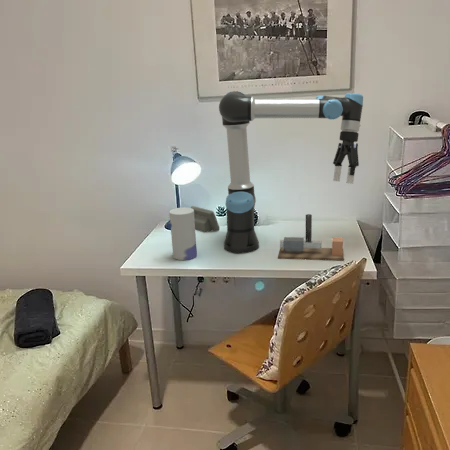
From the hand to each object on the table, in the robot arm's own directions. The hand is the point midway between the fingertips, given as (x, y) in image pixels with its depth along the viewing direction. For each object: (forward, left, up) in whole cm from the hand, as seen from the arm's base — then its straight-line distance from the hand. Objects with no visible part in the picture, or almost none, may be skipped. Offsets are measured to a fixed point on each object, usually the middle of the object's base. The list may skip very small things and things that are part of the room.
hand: (342, 182), depth 213 cm
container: (-64, -24, -26) cm, 74 cm away
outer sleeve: (-19, -18, -25) cm, 36 cm away
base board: (-13, -18, -26) cm, 34 cm away
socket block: (-2, -18, -25) cm, 31 cm away
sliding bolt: (-16, -18, -23) cm, 33 cm away
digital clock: (-64, +12, -26) cm, 71 cm away
